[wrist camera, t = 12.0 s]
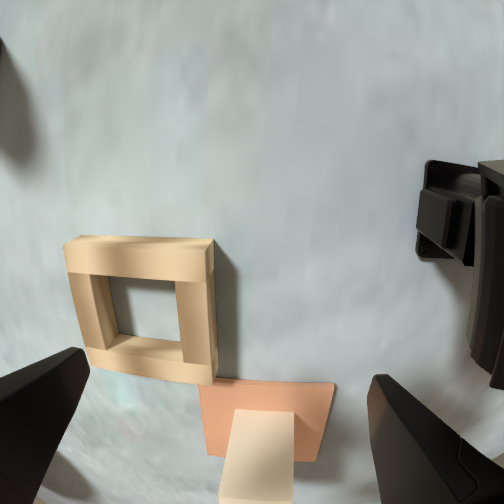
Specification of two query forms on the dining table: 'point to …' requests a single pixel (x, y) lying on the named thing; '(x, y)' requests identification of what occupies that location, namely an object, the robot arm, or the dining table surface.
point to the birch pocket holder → (147, 267)
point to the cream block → (259, 459)
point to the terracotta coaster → (266, 399)
